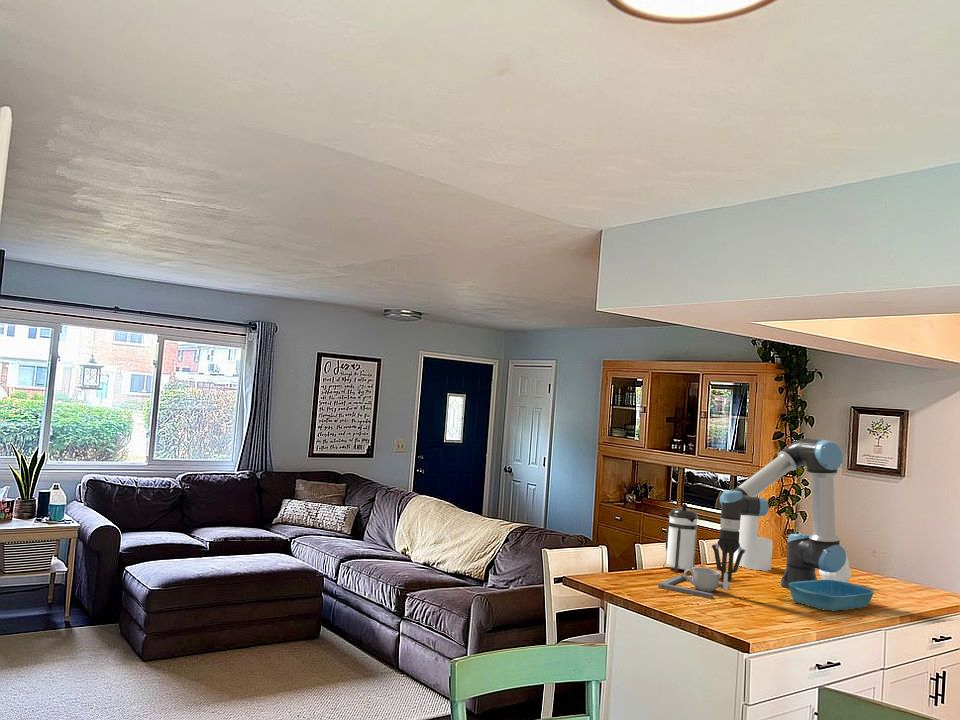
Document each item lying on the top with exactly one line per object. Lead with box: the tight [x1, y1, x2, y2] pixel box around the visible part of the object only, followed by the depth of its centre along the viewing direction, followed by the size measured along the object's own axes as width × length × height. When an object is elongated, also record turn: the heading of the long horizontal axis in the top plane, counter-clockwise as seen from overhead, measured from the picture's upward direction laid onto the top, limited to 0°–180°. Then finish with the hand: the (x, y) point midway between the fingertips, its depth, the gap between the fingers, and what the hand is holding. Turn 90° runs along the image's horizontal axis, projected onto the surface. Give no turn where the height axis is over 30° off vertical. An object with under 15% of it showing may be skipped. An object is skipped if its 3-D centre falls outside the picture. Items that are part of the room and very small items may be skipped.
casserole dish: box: [788, 579, 875, 612], centre depth 310 cm, size 37×22×7 cm, turn 123°
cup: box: [818, 553, 852, 583], centre depth 356 cm, size 13×13×14 cm
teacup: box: [683, 566, 721, 593], centre depth 316 cm, size 14×11×8 cm
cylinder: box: [733, 515, 774, 572], centre depth 378 cm, size 17×17×28 cm
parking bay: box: [657, 574, 730, 599], centre depth 317 cm, size 21×26×2 cm
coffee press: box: [662, 502, 699, 573], centre depth 354 cm, size 17×16×30 cm
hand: (725, 589), depth 311 cm, fingers closed
